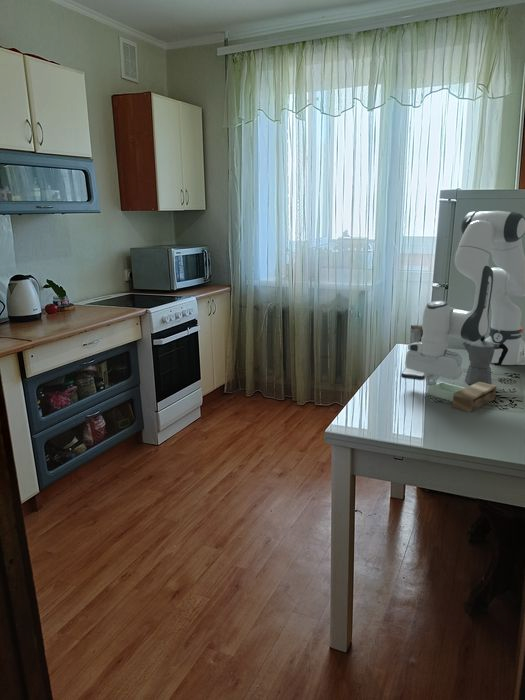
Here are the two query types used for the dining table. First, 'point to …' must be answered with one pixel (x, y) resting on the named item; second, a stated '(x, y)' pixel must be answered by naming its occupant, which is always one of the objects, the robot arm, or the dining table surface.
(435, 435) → the dining table surface
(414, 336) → the coffee box
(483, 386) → the walnut shelf
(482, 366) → the coffeepot
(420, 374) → the smartphone
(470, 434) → the dining table surface
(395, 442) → the dining table surface
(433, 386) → the tray
